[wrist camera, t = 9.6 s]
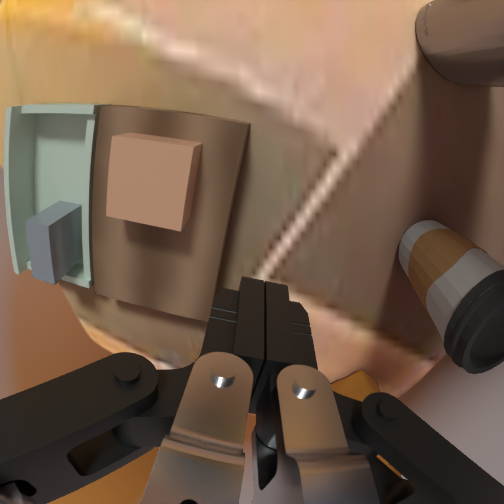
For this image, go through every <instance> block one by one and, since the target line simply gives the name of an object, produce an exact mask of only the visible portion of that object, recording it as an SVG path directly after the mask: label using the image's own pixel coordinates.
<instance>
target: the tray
mask: <svg viewBox="0 0 504 504" xmlns="http://www.w3.org/2000/svg"><path fill="white" fill-rule="evenodd" d="M107 105H108V104H82V103H46V104H30V105H20V106H12V107H7V111H6V122H5V138H4V188H5V205H6V216H7V226H8V234H9V241H10V249H11V255H12V261H13V266H14V271H15V273H17V274H21V272H23V271H24V270H25V269H26V268H28V269H30V270H32V269H31V263H30V257H29V249H28V242H27V233H26V223H25V221H26V220H28V219H29V218H31V217H33V216H34V215H36V214H38V213H39V212H41V211H43V210H44V209H46V208H48V207H50V206H51V205H53V204H55V203H57V202H58V201H65V202H71V203H76V204H81V205H82V246H83V258H82V259H81V260H80V261H79V262H77V263H76V264H75V265H74V266H73V267H72V268H71V269H70V270H69V271H68V272H67V273H66V274H65V275H64V276H63V277H62V278H61V279H60V280H63V281H66V282H70V283H73V284H76V285H79V286H83V287H86V288H90V287H91V286H92V285H93V283H94V269H93V245H92V201H93V178H94V163H95V151H96V140H97V131H98V123H99V116H100V109H101V106H107Z"/></svg>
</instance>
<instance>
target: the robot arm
mask: <svg viewBox="0 0 504 504" xmlns="http://www.w3.org/2000/svg"><path fill="white" fill-rule="evenodd" d="M416 33H417V38H418V41H419V44H420V47H421V49H422V51H423V53H424V55H425V57H426V58H427V60H428V61H429V62H430V64H431V65H432V66H433V67H434V68H435V69H436V71H437V72H439V73H440V74H441V75H442V76H443V77H445V78H446V79H448V80H450V81H452V82H454V83H457V84H464V85H475V84H478V85H479V86H481V87H504V0H434V1H432V2H430V3H428V4H426V5H425V6H424V7H422V8H421V10H420V11H419V13H418V15H417V19H416ZM311 334H312V333H311V328H310V323H309V317H308V313H307V312H306V310H305V309H304V308H303V306H302V305H301V304H300V303H298V302H292V301H289V293H288V286H287V285H283V284H278V283H273V282H268V281H265V283H264V281H263V280H258V279H253V278H248V277H243V276H242V278H241V282H240V286H239V291H236V290H231V289H226V288H223V289H222V290H220V291H219V292H218V293H217V294H216V295H215V296H214V300H213V304H212V309H211V312H210V317H209V321H208V325H207V329H206V333H205V337H204V342H203V346H202V350H201V353H200V356H199V357H198V359H197V360H196V361H195V362H193V363H192V364H190V365H189V366H186V367H184V368H180V369H172V370H156V368H155V366H154V365H153V364H152V363H151V362H150V361H149V360H148V359H146V358H145V357H143V356H141V355H138V354H135V353H129V352H122V353H116V354H113V355H110V356H108V357H105V358H103V359H101V360H98V361H96V362H94V363H91V364H89V365H86V366H84V367H82V368H80V369H77V370H74V371H72V372H70V373H67V374H65V375H62V376H60V377H57V378H55V379H52V380H50V381H48V382H45V383H42V384H40V385H37V386H35V387H32V388H29V389H27V390H25V391H22V392H19V393H16V394H14V395H11V396H9V397H6V398H3V399H1V400H0V504H46V503H49V502H51V501H54V500H56V499H58V498H60V497H63V496H65V495H67V494H69V493H71V492H73V491H76V490H78V489H80V488H82V487H84V486H86V485H88V484H90V483H92V482H94V481H96V480H98V479H100V478H102V477H104V476H106V475H108V474H109V473H111V472H113V471H115V470H117V469H119V468H121V467H122V466H124V465H126V464H128V463H129V462H131V461H133V460H135V459H136V458H138V457H140V456H141V455H143V454H145V453H147V452H148V451H150V450H151V449H153V448H154V447H158V446H160V449H159V451H158V454H157V457H156V460H155V463H154V466H153V469H152V471H151V474H150V477H149V480H148V483H147V486H146V489H145V492H144V495H143V497H142V501H141V503H140V504H239V498H240V492H241V485H242V479H243V472H244V465H245V453H243V443H244V436H245V430H246V424H247V417H248V413H254V414H256V425H255V427H254V429H253V431H252V436H251V439H252V458H253V459H252V460H253V480H254V496H253V500H252V504H504V486H503V485H502V484H501V483H499V482H498V481H497V480H496V479H494V478H493V477H492V476H490V475H489V474H488V473H487V472H485V471H484V470H483V469H482V468H481V467H479V466H478V465H477V464H476V463H474V462H473V461H472V460H471V459H469V458H468V457H467V456H466V455H464V454H463V453H462V452H461V451H460V450H458V449H457V448H456V447H455V446H454V445H452V444H451V443H450V442H449V441H447V440H446V439H445V438H444V437H443V436H441V435H440V434H439V433H438V432H436V431H435V430H434V429H433V428H432V427H430V426H429V425H428V424H427V423H426V422H425V421H423V420H422V419H421V418H420V417H418V416H417V415H416V414H415V413H414V412H413V411H411V410H410V409H409V408H408V407H407V406H405V405H404V404H403V403H402V402H401V401H399V400H398V399H397V398H396V397H394V396H392V395H390V394H387V393H382V392H376V393H372V394H369V395H368V396H367V397H366V398H365V399H364V400H363V401H359V400H356V399H353V398H350V397H347V396H344V395H341V394H339V393H337V392H335V391H333V390H332V387H331V384H330V382H329V380H328V379H327V378H326V376H325V375H324V374H322V373H321V372H320V371H318V367H317V361H316V356H315V350H314V344H313V339H312V336H311ZM378 454H379V455H380V456H381V457H382V458H383V459H385V460H386V461H387V462H388V463H389V464H390V465H391V466H393V467H394V468H395V469H396V470H397V471H398V472H399V473H401V474H402V475H403V476H404V477H405V478H407V479H408V480H405V479H402V478H401V477H399V476H398V475H397V474H396V473H395V472H393V471H392V470H391V469H390V468H389V467H388V466H387V465H385V464H384V463H383V462H382V461H381V460H380V459H379V458H378V457H376V456H377V455H378Z"/></svg>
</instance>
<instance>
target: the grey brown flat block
mask: <svg viewBox="0 0 504 504" xmlns="http://www.w3.org/2000/svg"><path fill="white" fill-rule="evenodd" d="M249 128H250V123H247V122H242V121H237V120H232V119H226V118H221V117H215V116H209V115H203V114H196V113H189V112H182V111H174V110H166V109H157V108H148V107H137V106H124V105H107V106H101V109H100V116H99V123H98V131H97V140H96V151H95V163H94V178H93V201H92V245H93V269H94V284H95V294H99V295H102V296H106V297H109V298H113V299H116V300H120V301H124V302H127V303H131V304H135V305H139V306H142V307H146V308H150V309H154V310H158V311H162V312H166V313H171V314H175V315H179V316H183V317H188V318H192V319H197V320H201V321H206V322H208V321H209V317H210V312H211V309H212V304H213V300H214V296H215V294H216V288H217V283H218V278H219V272H220V267H221V262H222V257H223V252H224V246H225V241H226V236H227V231H228V226H229V221H230V216H231V212H232V207H233V202H234V197H235V192H236V187H237V183H238V178H239V173H240V169H241V164H242V159H243V155H244V150H245V146H246V141H247V137H248V132H249ZM124 133H138V134H146V135H154V136H161V137H168V138H175V139H182V140H188V141H194V142H200V143H203V144H202V149H201V155H200V160H199V166H198V172H197V177H196V183H195V189H194V196H193V202H192V208H191V215H190V218H189V220H188V221H187V223H186V224H185V226H184V227H183V229H182V231H176V230H171V229H166V228H161V227H157V226H152V225H147V224H142V223H137V222H133V221H128V220H123V219H118V218H113V217H108V216H106V205H107V186H108V172H109V160H110V150H111V141H112V136H115V135H120V134H124Z"/></svg>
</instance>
